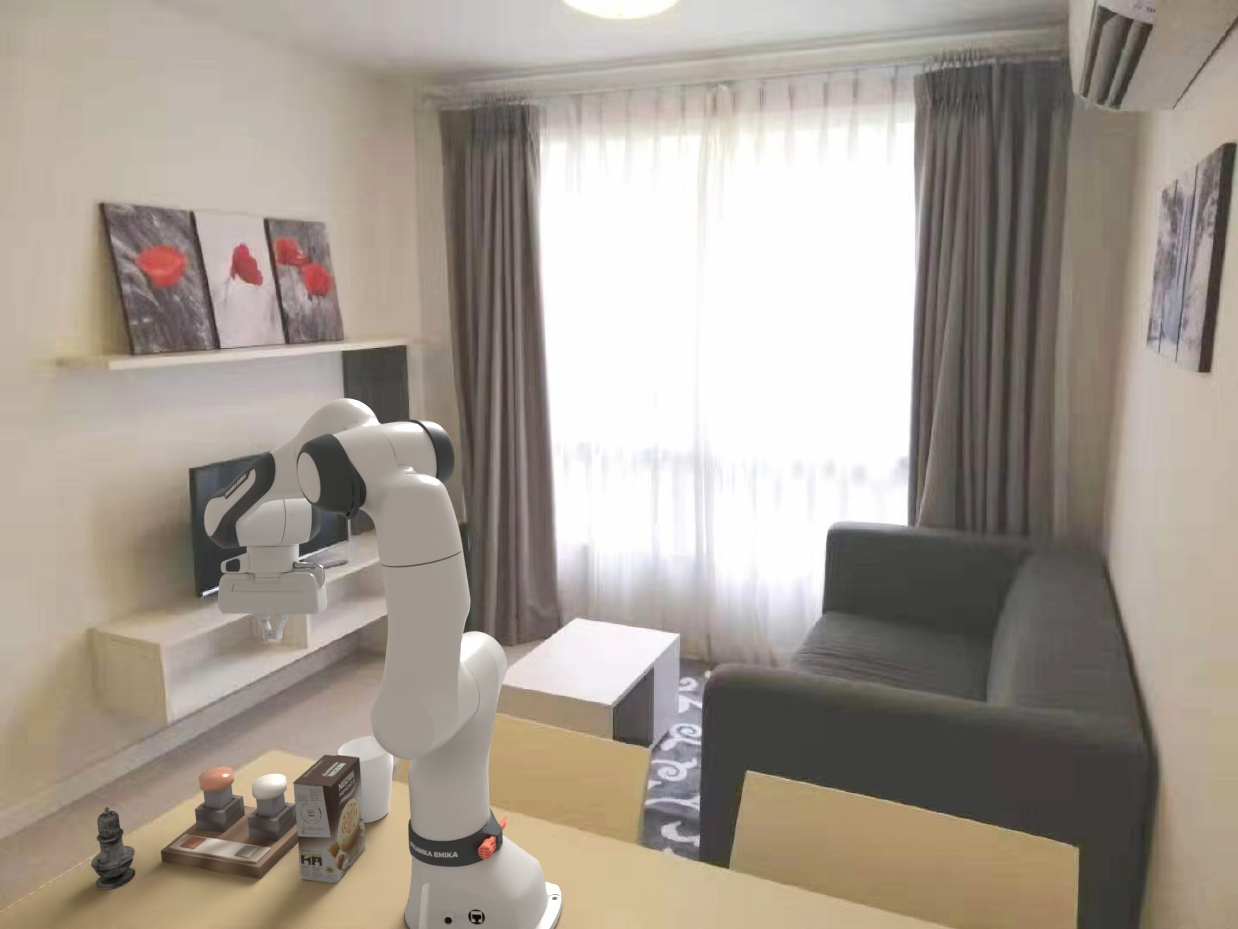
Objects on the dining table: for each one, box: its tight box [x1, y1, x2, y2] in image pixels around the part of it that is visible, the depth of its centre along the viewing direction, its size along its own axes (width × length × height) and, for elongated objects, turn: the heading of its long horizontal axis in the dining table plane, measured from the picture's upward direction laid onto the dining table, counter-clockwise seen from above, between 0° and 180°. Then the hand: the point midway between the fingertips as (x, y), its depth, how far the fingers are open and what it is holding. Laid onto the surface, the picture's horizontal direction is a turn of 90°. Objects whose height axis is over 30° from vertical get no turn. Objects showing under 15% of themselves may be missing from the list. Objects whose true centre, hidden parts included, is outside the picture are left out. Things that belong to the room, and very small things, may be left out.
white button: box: [251, 773, 288, 818], centre depth 142 cm, size 5×5×5 cm
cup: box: [337, 735, 394, 824], centre depth 150 cm, size 9×9×12 cm
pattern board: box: [160, 794, 298, 880], centre depth 143 cm, size 18×14×6 cm
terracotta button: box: [198, 766, 235, 810], centre depth 145 cm, size 5×5×5 cm
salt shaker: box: [90, 806, 136, 890], centre depth 134 cm, size 6×6×12 cm
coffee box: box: [292, 754, 366, 884], centre depth 136 cm, size 9×6×16 cm
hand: (272, 639), depth 158 cm, fingers closed
